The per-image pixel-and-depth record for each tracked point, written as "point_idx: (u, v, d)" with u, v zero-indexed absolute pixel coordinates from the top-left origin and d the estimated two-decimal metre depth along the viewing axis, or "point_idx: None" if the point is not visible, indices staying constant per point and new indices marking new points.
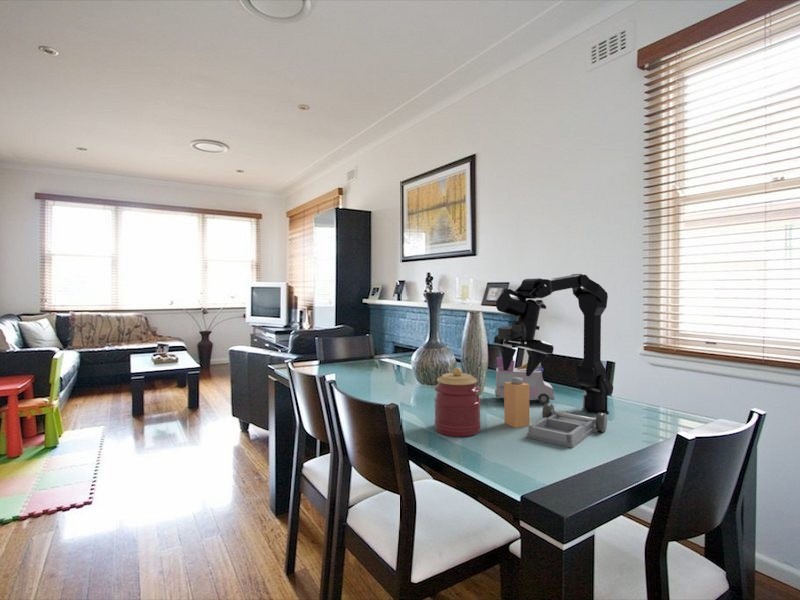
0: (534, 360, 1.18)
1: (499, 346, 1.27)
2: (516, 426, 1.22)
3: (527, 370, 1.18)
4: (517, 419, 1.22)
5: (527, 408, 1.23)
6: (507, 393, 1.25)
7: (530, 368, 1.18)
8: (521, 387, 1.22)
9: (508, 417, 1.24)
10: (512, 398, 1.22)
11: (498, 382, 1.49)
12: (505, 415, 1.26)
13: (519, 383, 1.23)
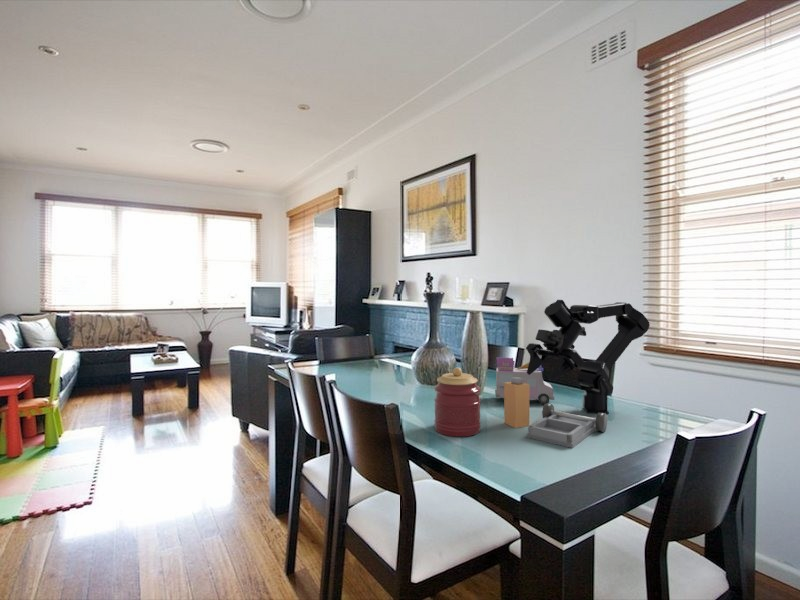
0: (561, 368, 1.24)
1: (530, 351, 1.34)
2: (516, 426, 1.22)
3: (551, 374, 1.23)
4: (517, 419, 1.22)
5: (527, 408, 1.23)
6: (507, 393, 1.25)
7: (555, 373, 1.23)
8: (521, 387, 1.22)
9: (508, 417, 1.24)
10: (512, 398, 1.22)
11: (498, 382, 1.49)
12: (505, 415, 1.26)
13: (519, 383, 1.23)
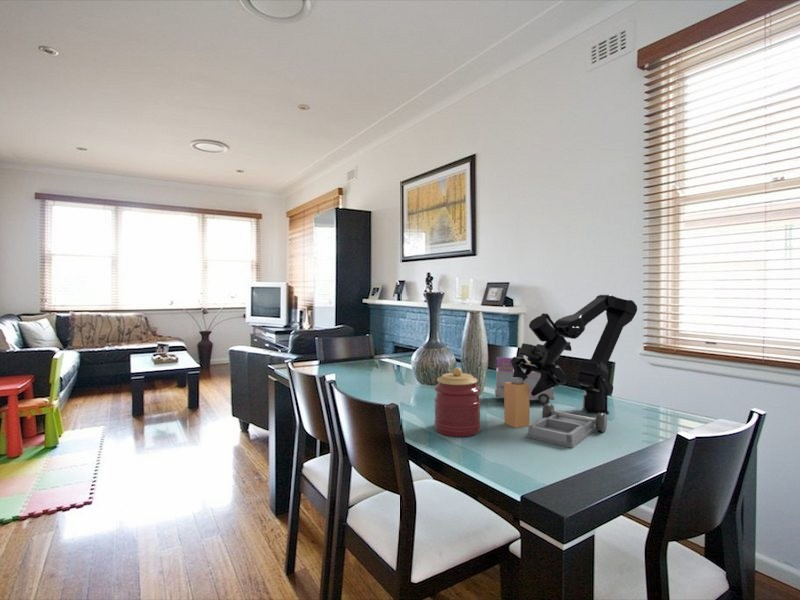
0: (544, 383, 1.21)
1: (514, 365, 1.32)
2: (516, 426, 1.22)
3: (534, 389, 1.21)
4: (517, 419, 1.22)
5: (527, 408, 1.23)
6: (507, 393, 1.25)
7: (537, 388, 1.21)
8: (521, 387, 1.22)
9: (508, 417, 1.24)
10: (512, 398, 1.22)
11: (498, 382, 1.49)
12: (505, 415, 1.26)
13: (519, 383, 1.23)
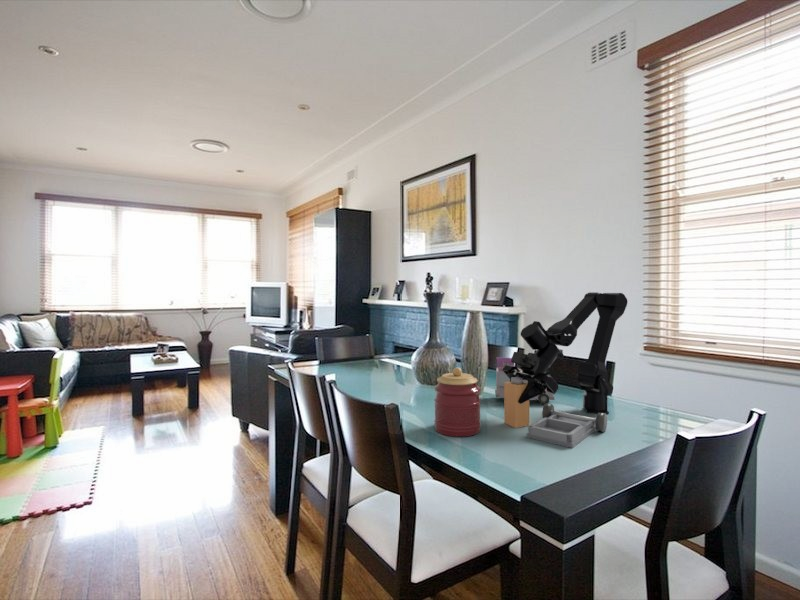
0: (531, 391, 1.22)
1: (510, 374, 1.29)
2: (516, 426, 1.22)
3: (521, 397, 1.22)
4: (517, 419, 1.22)
5: (527, 408, 1.23)
6: (507, 393, 1.25)
7: (524, 396, 1.21)
8: (521, 387, 1.22)
9: (508, 417, 1.24)
10: (512, 398, 1.22)
11: (498, 382, 1.49)
12: (505, 415, 1.26)
13: (519, 383, 1.23)
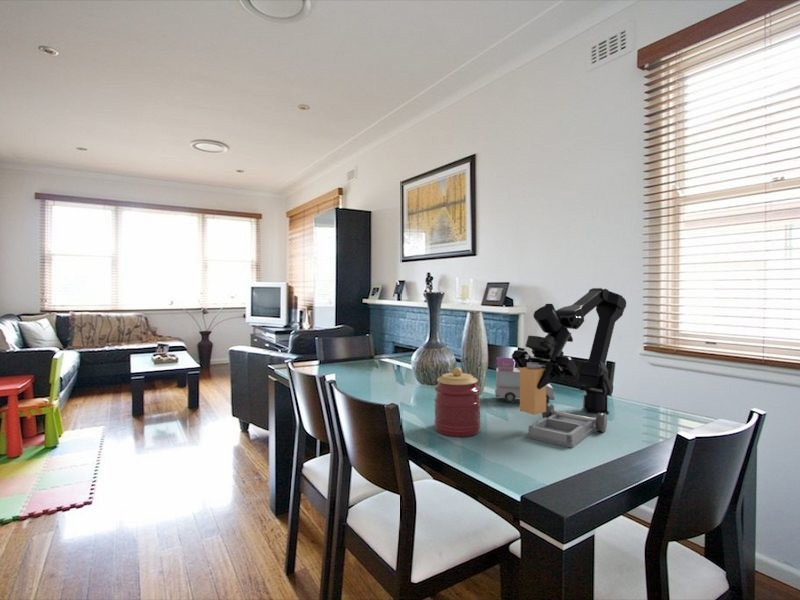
0: (549, 375, 1.17)
1: (523, 360, 1.23)
2: (535, 413, 1.16)
3: (540, 382, 1.16)
4: (536, 405, 1.16)
5: (544, 393, 1.18)
6: (523, 379, 1.19)
7: (543, 381, 1.16)
8: (539, 372, 1.17)
9: (525, 404, 1.18)
10: (531, 384, 1.17)
11: (498, 382, 1.49)
12: (521, 402, 1.19)
13: (536, 368, 1.18)
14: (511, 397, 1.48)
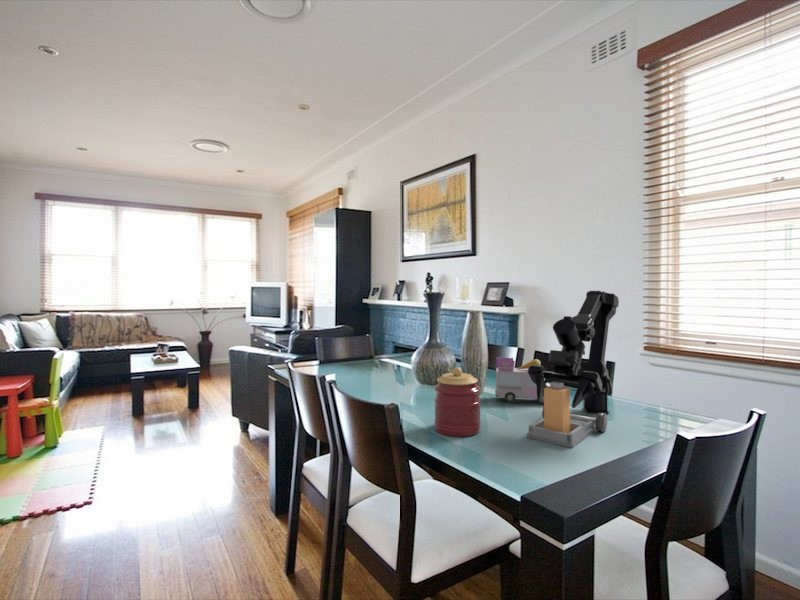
0: (582, 393, 1.11)
1: (536, 374, 1.19)
2: None
3: (574, 400, 1.10)
4: (564, 427, 1.11)
5: (569, 414, 1.13)
6: (549, 400, 1.12)
7: (578, 399, 1.10)
8: (565, 392, 1.12)
9: (550, 426, 1.12)
10: (558, 405, 1.11)
11: (498, 382, 1.49)
12: (545, 425, 1.13)
13: (562, 388, 1.12)
14: (511, 397, 1.48)
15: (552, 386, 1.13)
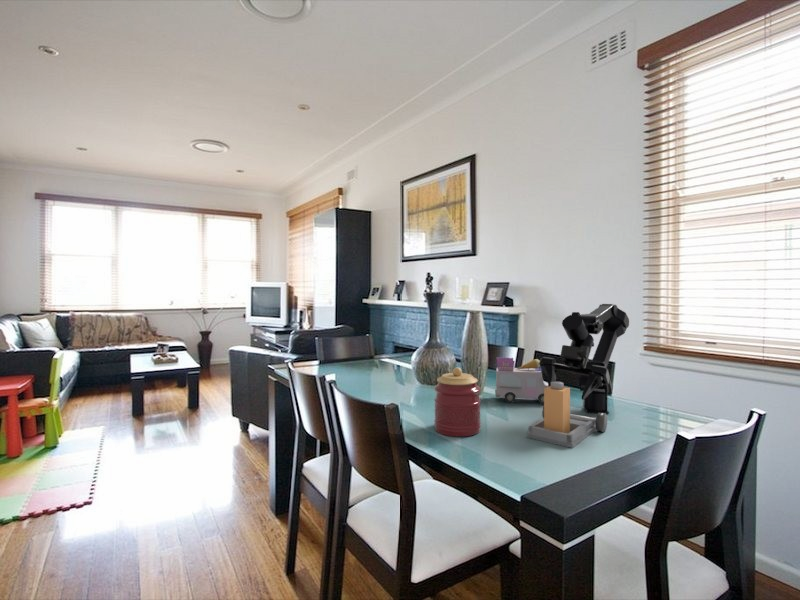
0: (591, 385, 1.19)
1: (548, 366, 1.26)
2: None
3: (584, 393, 1.18)
4: (564, 427, 1.11)
5: (569, 414, 1.13)
6: (549, 400, 1.12)
7: (587, 392, 1.18)
8: (565, 392, 1.12)
9: (550, 426, 1.12)
10: (558, 405, 1.11)
11: (498, 382, 1.49)
12: (545, 425, 1.13)
13: (562, 388, 1.12)
14: (511, 397, 1.48)
15: (552, 386, 1.13)
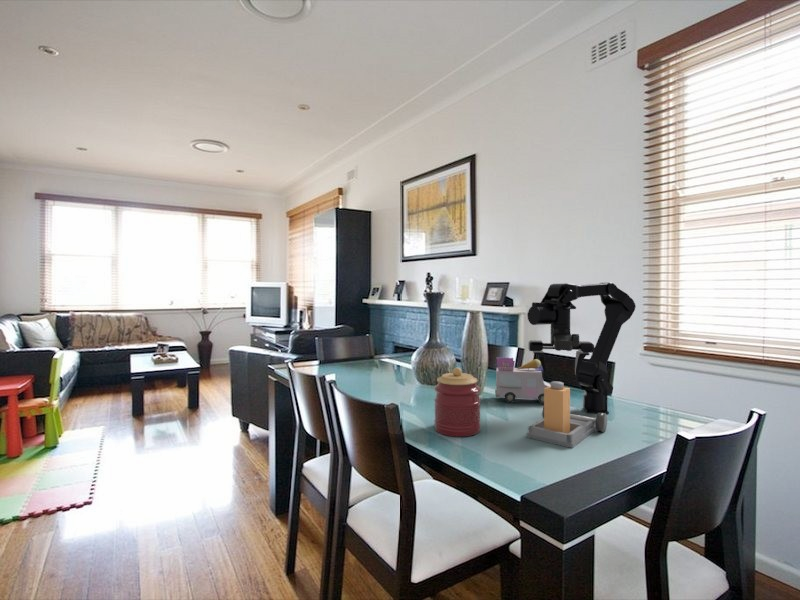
0: None
1: (540, 353, 1.31)
2: None
3: (577, 370, 1.31)
4: (564, 427, 1.11)
5: (569, 414, 1.13)
6: (549, 400, 1.12)
7: None
8: (565, 392, 1.12)
9: (550, 426, 1.12)
10: (558, 405, 1.11)
11: (498, 382, 1.49)
12: (545, 425, 1.13)
13: (562, 388, 1.12)
14: (511, 397, 1.48)
15: (552, 386, 1.13)
